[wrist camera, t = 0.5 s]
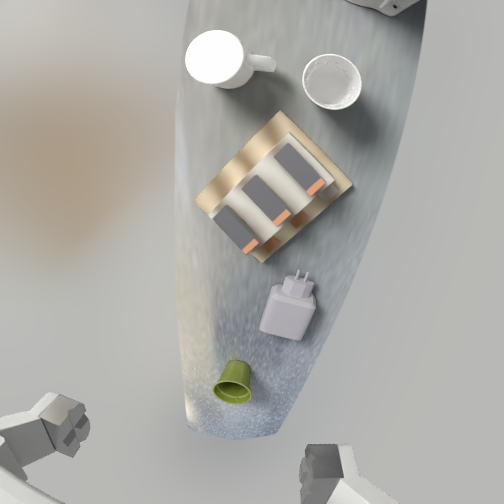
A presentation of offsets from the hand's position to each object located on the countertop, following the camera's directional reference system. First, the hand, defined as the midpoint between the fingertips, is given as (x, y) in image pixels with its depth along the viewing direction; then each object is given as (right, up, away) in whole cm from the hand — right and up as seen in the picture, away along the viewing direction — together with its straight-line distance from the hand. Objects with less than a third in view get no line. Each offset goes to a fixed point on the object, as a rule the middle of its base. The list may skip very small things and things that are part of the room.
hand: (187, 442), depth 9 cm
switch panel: (+6, +17, +43) cm, 47 cm away
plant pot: (-1, -23, +65) cm, 69 cm away
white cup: (+14, +33, +34) cm, 50 cm away
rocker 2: (+5, +15, +38) cm, 41 cm away
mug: (0, +37, +34) cm, 50 cm away
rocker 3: (+9, +19, +35) cm, 41 cm away
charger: (+10, -2, +53) cm, 54 cm away
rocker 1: (0, +10, +41) cm, 42 cm away
